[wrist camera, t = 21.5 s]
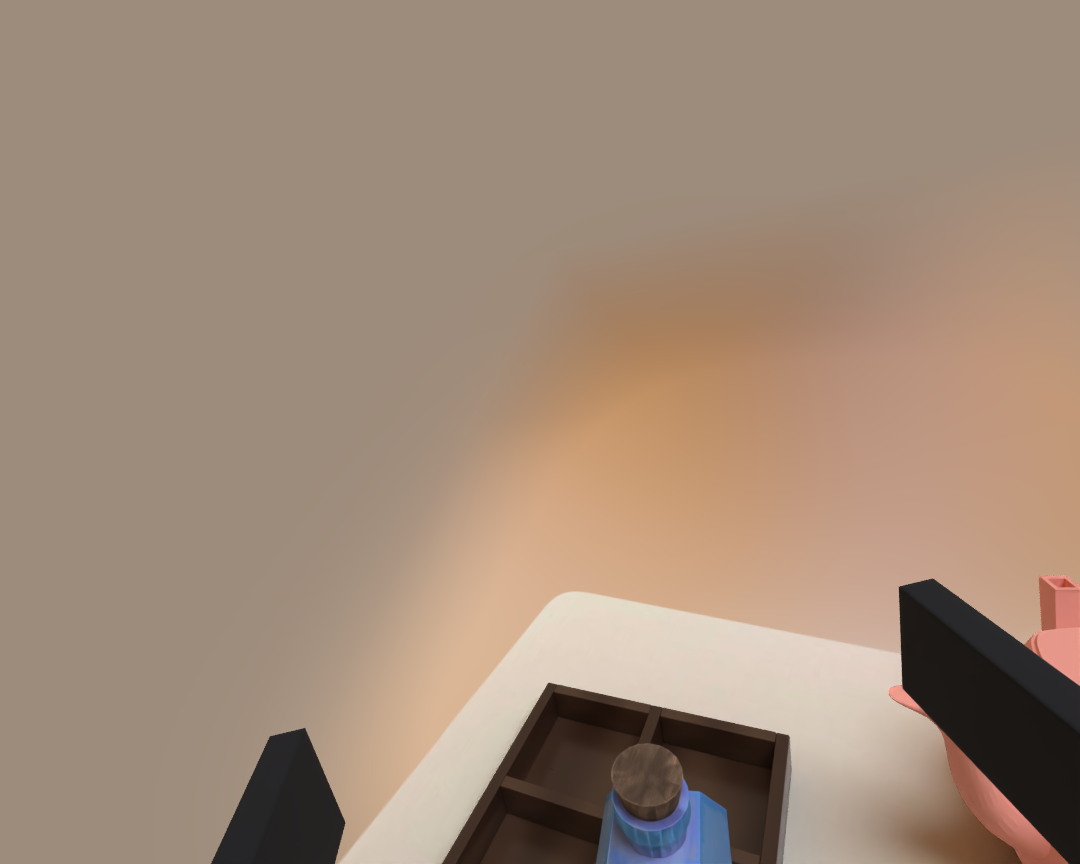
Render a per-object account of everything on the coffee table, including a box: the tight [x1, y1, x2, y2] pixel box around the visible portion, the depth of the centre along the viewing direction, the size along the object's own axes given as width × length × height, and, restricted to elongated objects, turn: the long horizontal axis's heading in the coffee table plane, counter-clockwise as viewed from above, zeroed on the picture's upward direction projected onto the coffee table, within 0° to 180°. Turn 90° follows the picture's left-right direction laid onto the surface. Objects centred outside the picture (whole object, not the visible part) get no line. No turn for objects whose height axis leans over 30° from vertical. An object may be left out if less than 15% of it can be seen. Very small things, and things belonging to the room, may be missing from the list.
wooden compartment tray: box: [442, 683, 791, 864], centre depth 35 cm, size 17×17×3 cm
